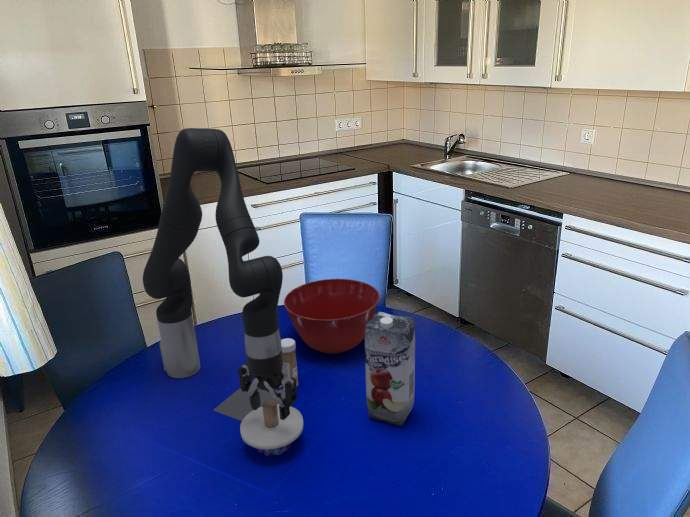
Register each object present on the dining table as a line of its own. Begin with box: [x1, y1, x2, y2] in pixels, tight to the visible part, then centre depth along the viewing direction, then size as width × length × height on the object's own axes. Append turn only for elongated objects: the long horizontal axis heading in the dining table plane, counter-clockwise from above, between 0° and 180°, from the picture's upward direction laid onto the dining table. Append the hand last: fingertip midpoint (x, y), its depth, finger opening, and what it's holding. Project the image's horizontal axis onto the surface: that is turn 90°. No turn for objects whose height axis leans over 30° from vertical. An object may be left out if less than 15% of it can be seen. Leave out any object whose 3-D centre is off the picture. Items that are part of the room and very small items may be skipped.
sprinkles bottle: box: [281, 337, 299, 388], centre depth 140 cm, size 5×5×14 cm
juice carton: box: [364, 311, 416, 427], centre depth 125 cm, size 9×10×27 cm
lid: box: [239, 400, 304, 450], centre depth 119 cm, size 14×14×6 cm
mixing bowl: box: [283, 278, 381, 354], centre depth 161 cm, size 28×28×15 cm
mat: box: [212, 381, 284, 422], centre depth 136 cm, size 14×14×1 cm
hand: (270, 412), depth 118 cm, fingers open, 7 cm apart
